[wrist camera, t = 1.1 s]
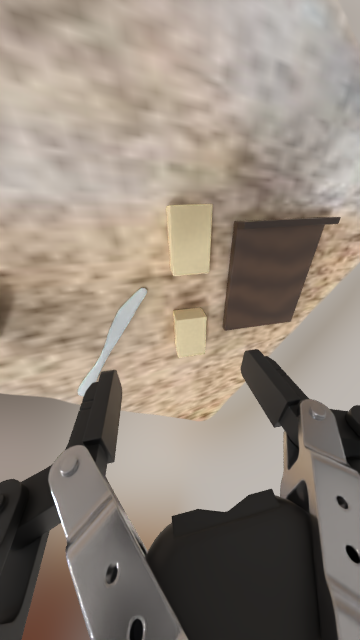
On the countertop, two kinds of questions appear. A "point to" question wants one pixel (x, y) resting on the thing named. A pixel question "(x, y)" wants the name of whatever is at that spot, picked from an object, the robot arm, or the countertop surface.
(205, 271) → the beige rectangular block
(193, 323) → the pad
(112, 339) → the butter knife
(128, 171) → the countertop surface
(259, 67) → the countertop surface
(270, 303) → the board
